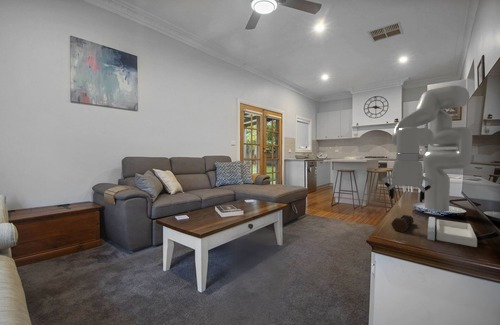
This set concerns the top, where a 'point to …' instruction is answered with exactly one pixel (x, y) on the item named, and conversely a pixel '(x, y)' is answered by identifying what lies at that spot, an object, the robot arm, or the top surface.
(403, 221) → the dark brown dumbbell
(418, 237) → the top surface
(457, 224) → the tray
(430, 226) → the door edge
